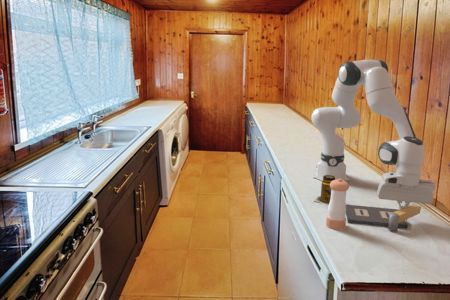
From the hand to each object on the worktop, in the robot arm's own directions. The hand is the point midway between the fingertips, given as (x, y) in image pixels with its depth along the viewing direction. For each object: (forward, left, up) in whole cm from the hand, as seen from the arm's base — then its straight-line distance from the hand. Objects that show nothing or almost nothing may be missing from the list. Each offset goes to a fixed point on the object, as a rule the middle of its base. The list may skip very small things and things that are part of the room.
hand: (402, 210), depth 150 cm
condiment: (-14, -29, -5) cm, 33 cm away
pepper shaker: (+12, -26, -5) cm, 29 cm away
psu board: (0, -10, -4) cm, 11 cm away
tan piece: (+5, 0, -4) cm, 6 cm away
